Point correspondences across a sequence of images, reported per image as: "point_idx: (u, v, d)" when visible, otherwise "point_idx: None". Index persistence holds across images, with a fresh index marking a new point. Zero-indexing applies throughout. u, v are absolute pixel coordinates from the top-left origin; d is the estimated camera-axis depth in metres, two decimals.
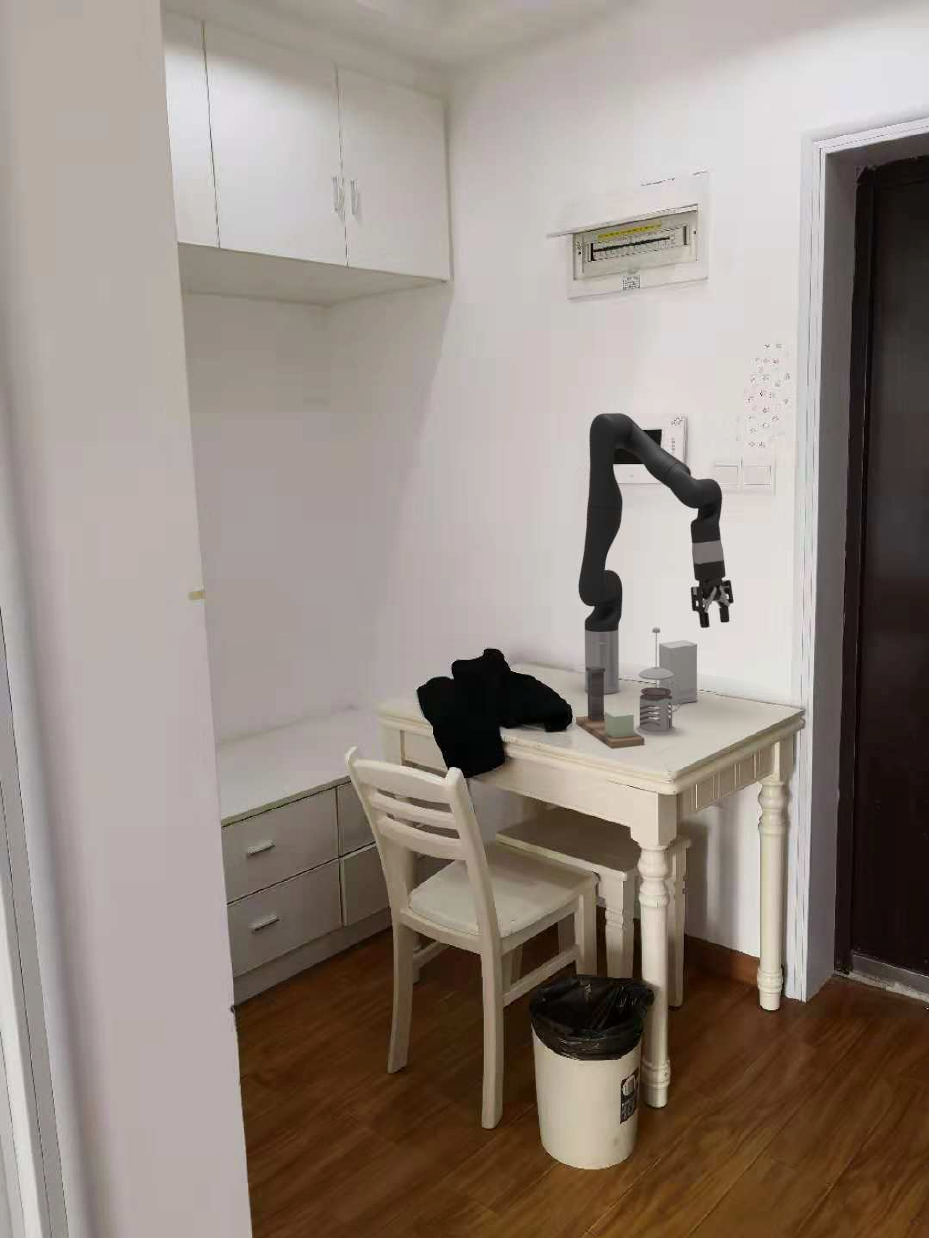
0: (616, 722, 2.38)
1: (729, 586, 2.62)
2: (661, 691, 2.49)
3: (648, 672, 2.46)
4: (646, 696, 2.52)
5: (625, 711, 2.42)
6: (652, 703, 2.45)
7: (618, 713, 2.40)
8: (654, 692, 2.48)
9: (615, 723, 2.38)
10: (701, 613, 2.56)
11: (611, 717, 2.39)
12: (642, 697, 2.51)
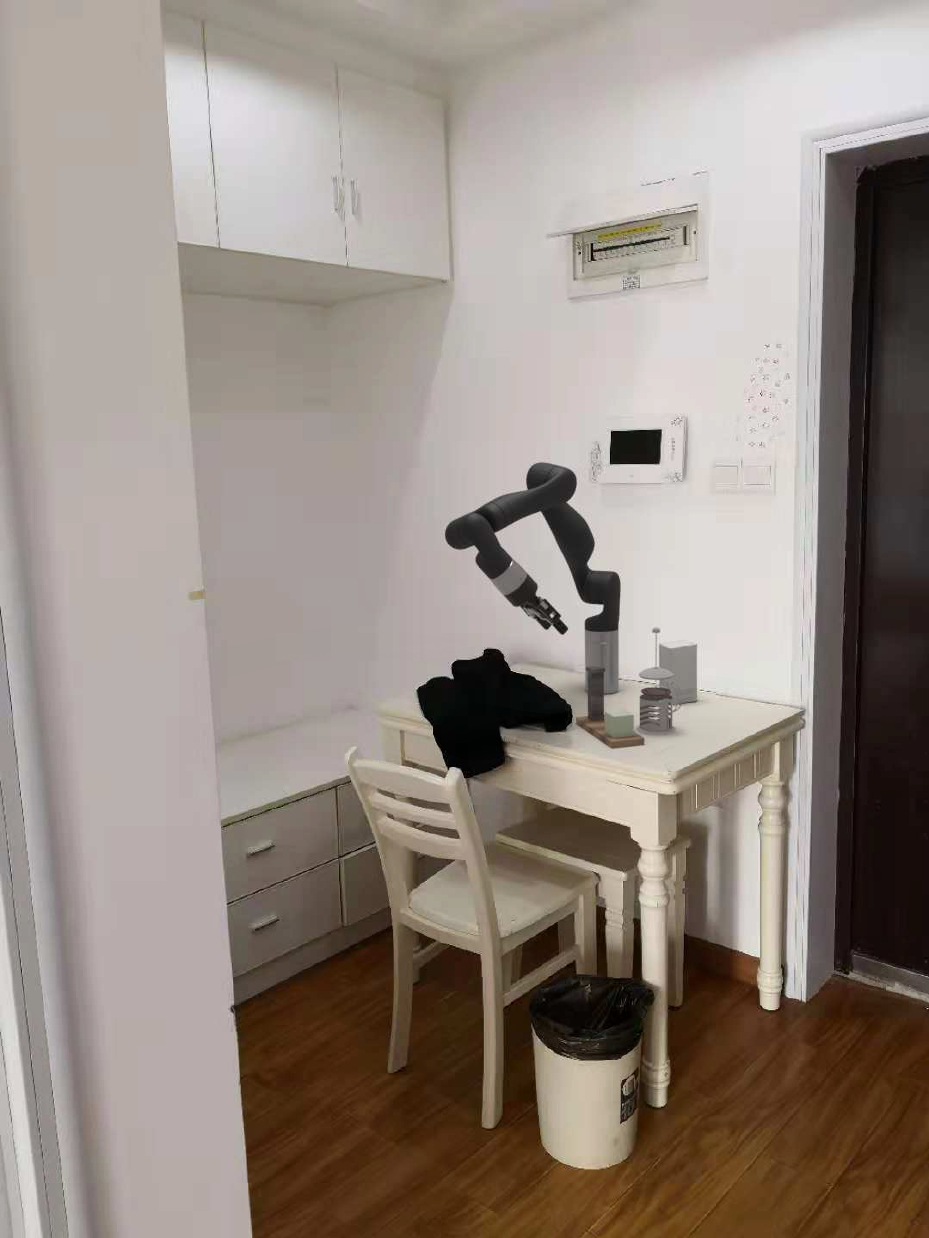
0: (616, 722, 2.38)
1: (541, 610, 2.37)
2: (661, 691, 2.49)
3: (648, 672, 2.46)
4: (646, 696, 2.52)
5: (625, 711, 2.42)
6: (652, 703, 2.45)
7: (618, 713, 2.40)
8: (654, 692, 2.48)
9: (615, 723, 2.38)
10: None
11: (611, 717, 2.39)
12: (642, 697, 2.51)
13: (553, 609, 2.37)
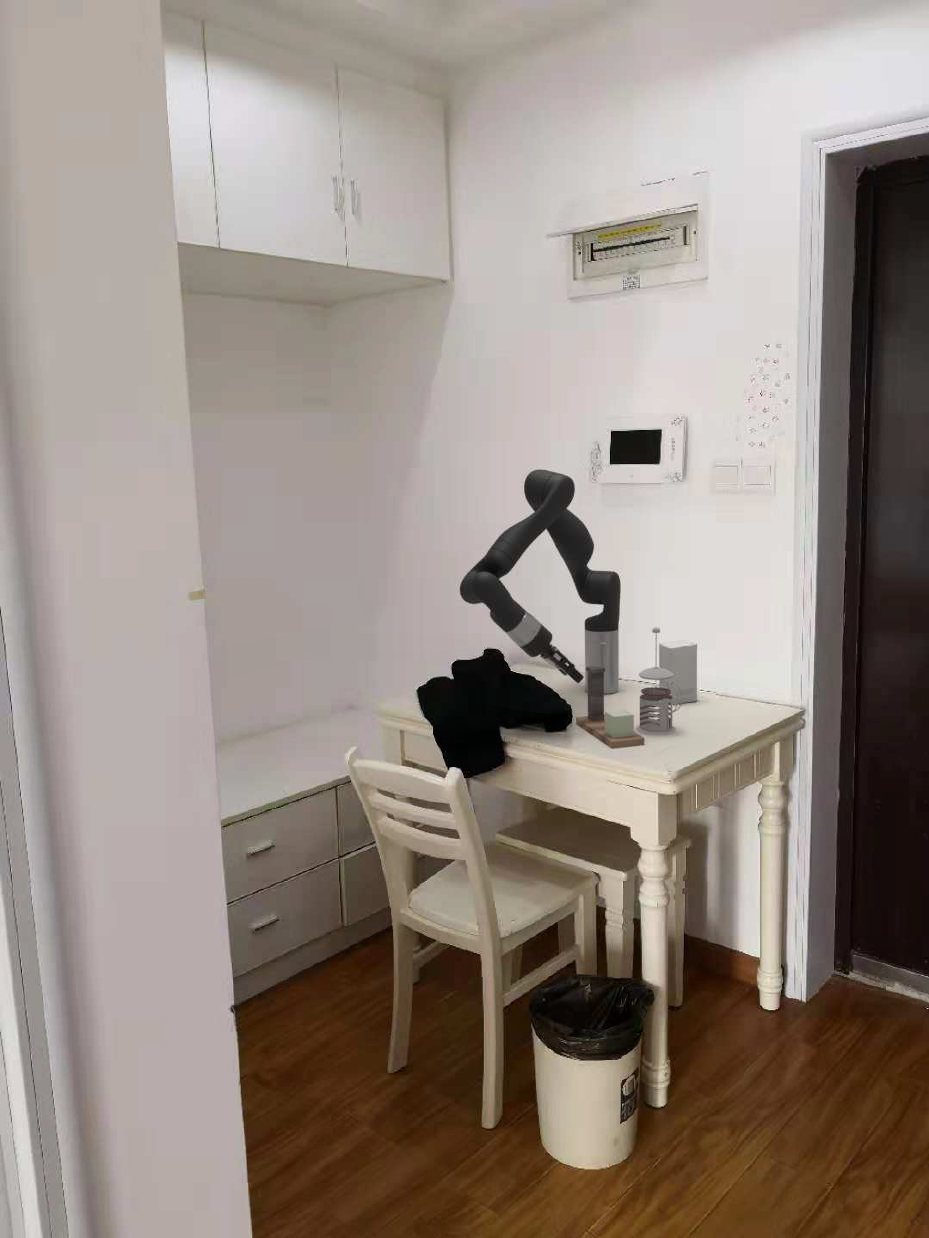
0: (616, 722, 2.38)
1: (554, 662, 2.43)
2: (661, 691, 2.49)
3: (648, 672, 2.46)
4: (646, 696, 2.52)
5: (625, 711, 2.42)
6: (652, 703, 2.45)
7: (618, 713, 2.40)
8: (654, 692, 2.48)
9: (615, 723, 2.38)
10: None
11: (611, 717, 2.39)
12: (642, 697, 2.51)
13: (566, 660, 2.43)
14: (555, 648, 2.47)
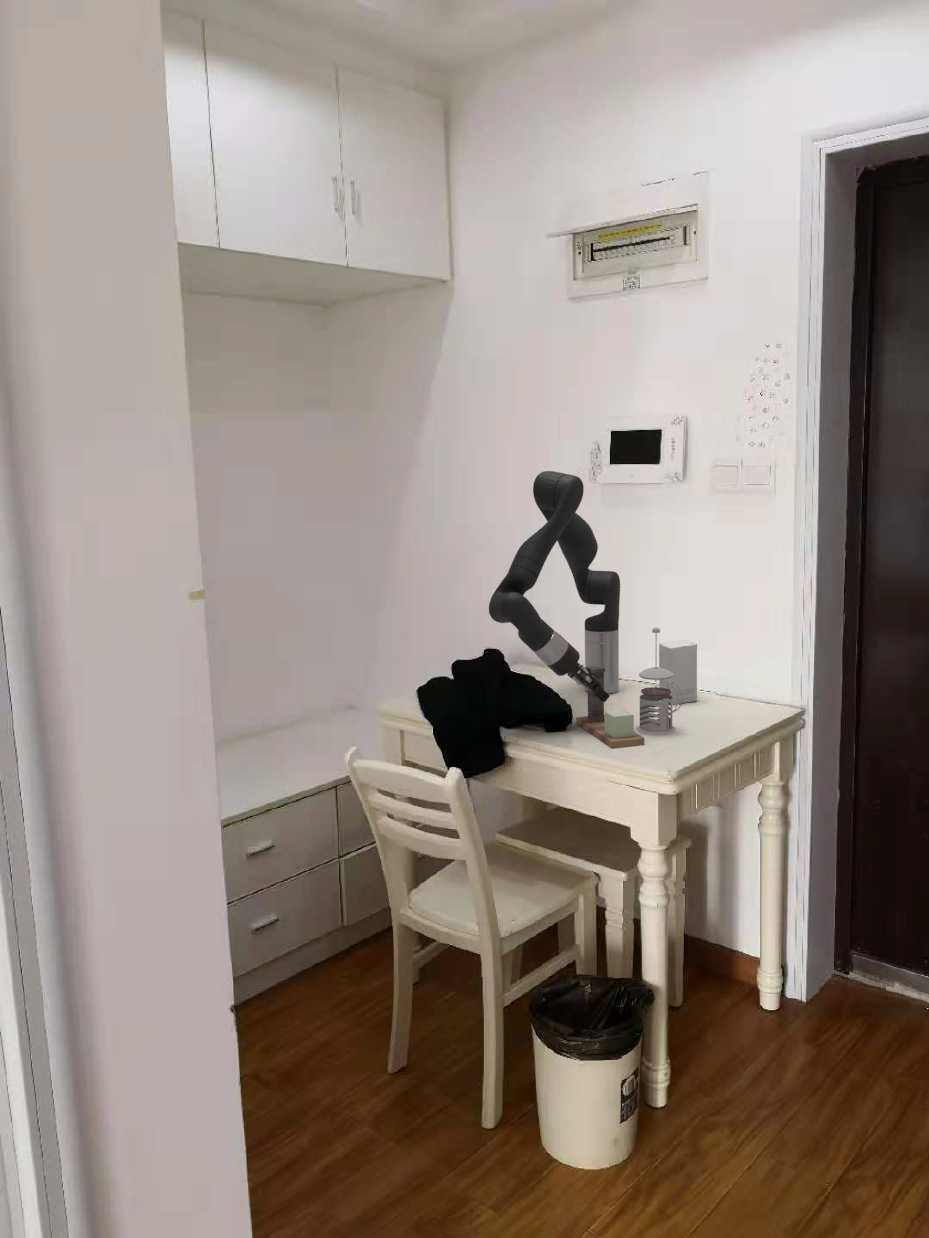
0: (616, 722, 2.38)
1: (585, 683, 2.47)
2: (661, 691, 2.49)
3: (648, 672, 2.46)
4: (646, 696, 2.52)
5: (625, 711, 2.42)
6: (652, 703, 2.45)
7: (618, 713, 2.40)
8: (654, 692, 2.48)
9: (615, 723, 2.38)
10: None
11: (611, 717, 2.39)
12: (642, 697, 2.51)
13: (596, 682, 2.47)
14: (583, 668, 2.50)
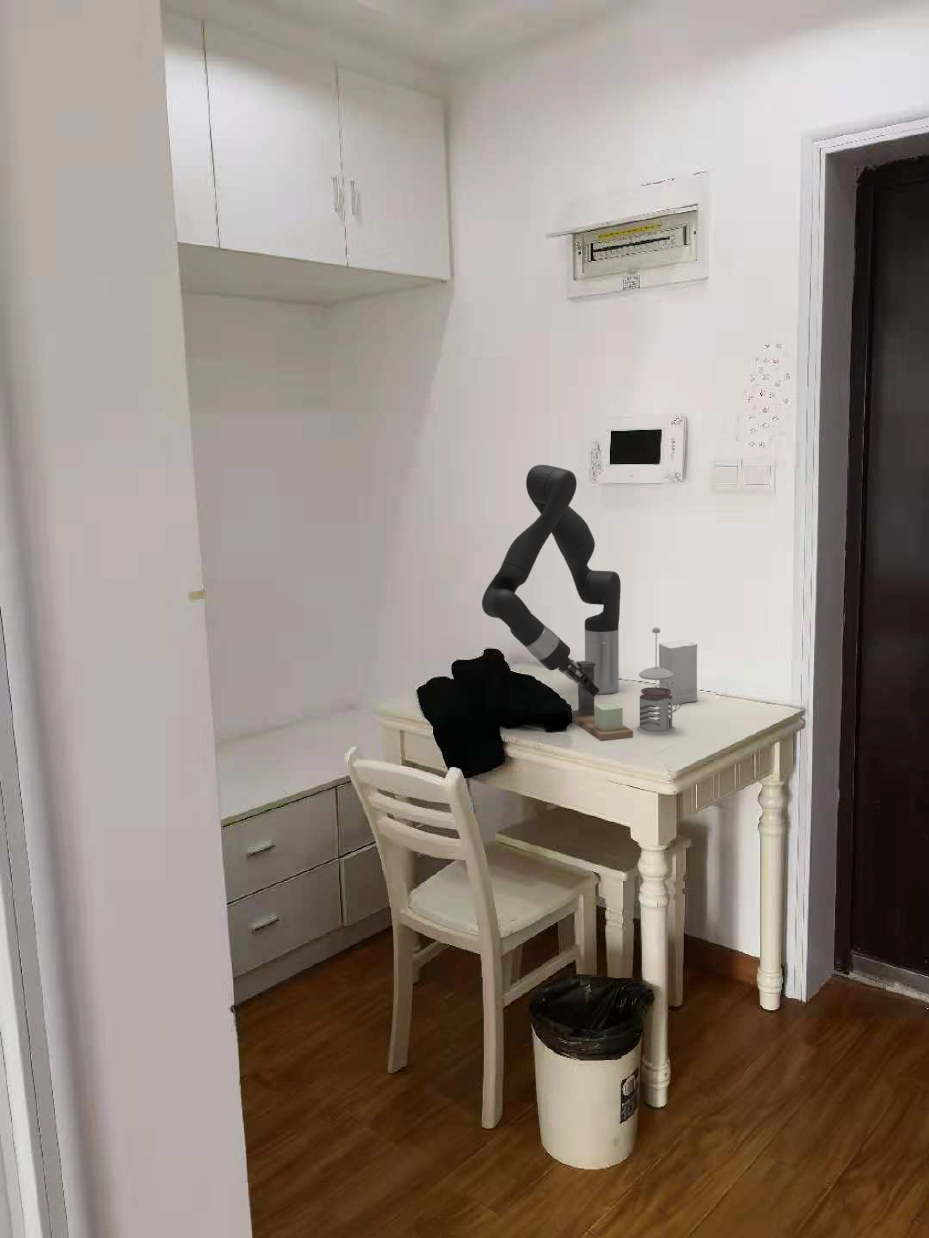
0: (605, 715, 2.44)
1: (575, 677, 2.53)
2: (661, 691, 2.49)
3: (648, 672, 2.46)
4: (646, 696, 2.52)
5: (614, 705, 2.48)
6: (652, 703, 2.45)
7: (607, 707, 2.46)
8: (654, 692, 2.48)
9: (604, 716, 2.44)
10: None
11: (600, 710, 2.45)
12: (642, 697, 2.51)
13: (586, 676, 2.53)
14: (574, 662, 2.56)
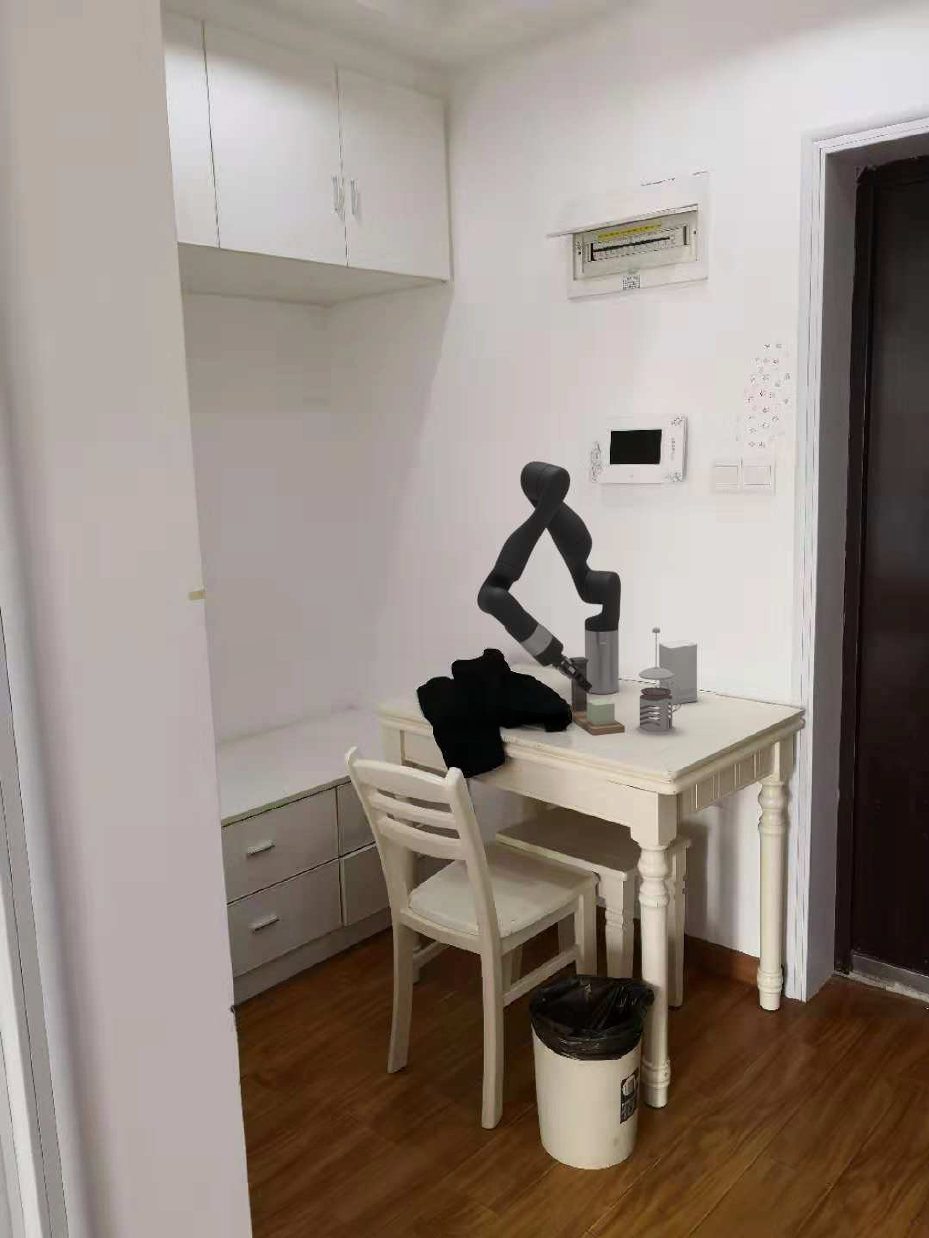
0: (597, 710, 2.49)
1: (568, 673, 2.57)
2: (661, 691, 2.49)
3: (648, 672, 2.46)
4: (646, 696, 2.52)
5: (607, 700, 2.52)
6: (652, 703, 2.45)
7: (600, 702, 2.51)
8: (654, 692, 2.48)
9: (596, 711, 2.49)
10: None
11: (592, 705, 2.50)
12: (642, 697, 2.51)
13: (579, 672, 2.58)
14: (567, 658, 2.60)
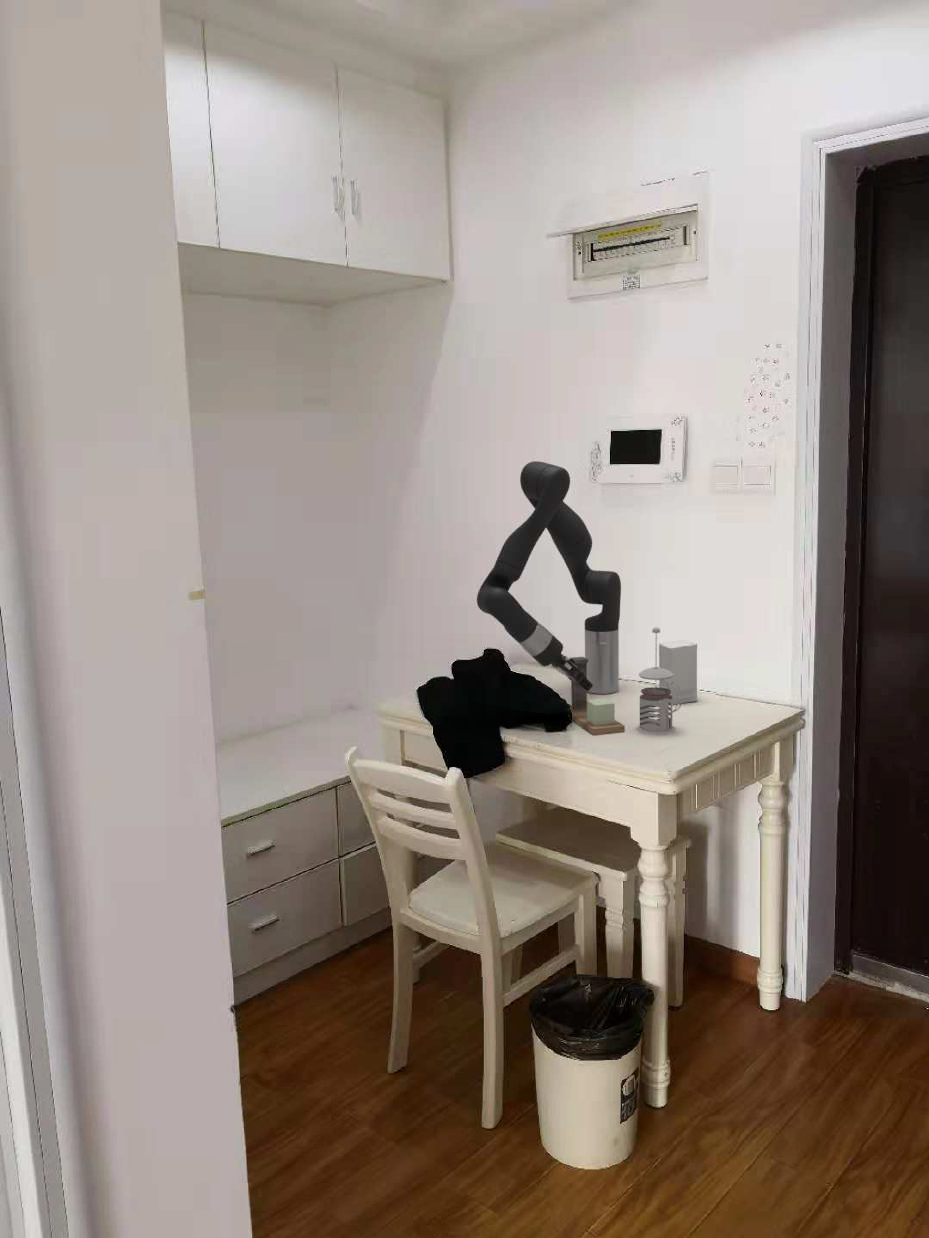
0: (597, 710, 2.49)
1: (565, 671, 2.56)
2: (661, 691, 2.49)
3: (648, 672, 2.46)
4: (646, 696, 2.52)
5: (607, 700, 2.52)
6: (652, 703, 2.45)
7: (600, 702, 2.51)
8: (654, 692, 2.48)
9: (596, 711, 2.49)
10: None
11: (592, 705, 2.50)
12: (642, 697, 2.51)
13: (577, 669, 2.56)
14: (566, 658, 2.60)
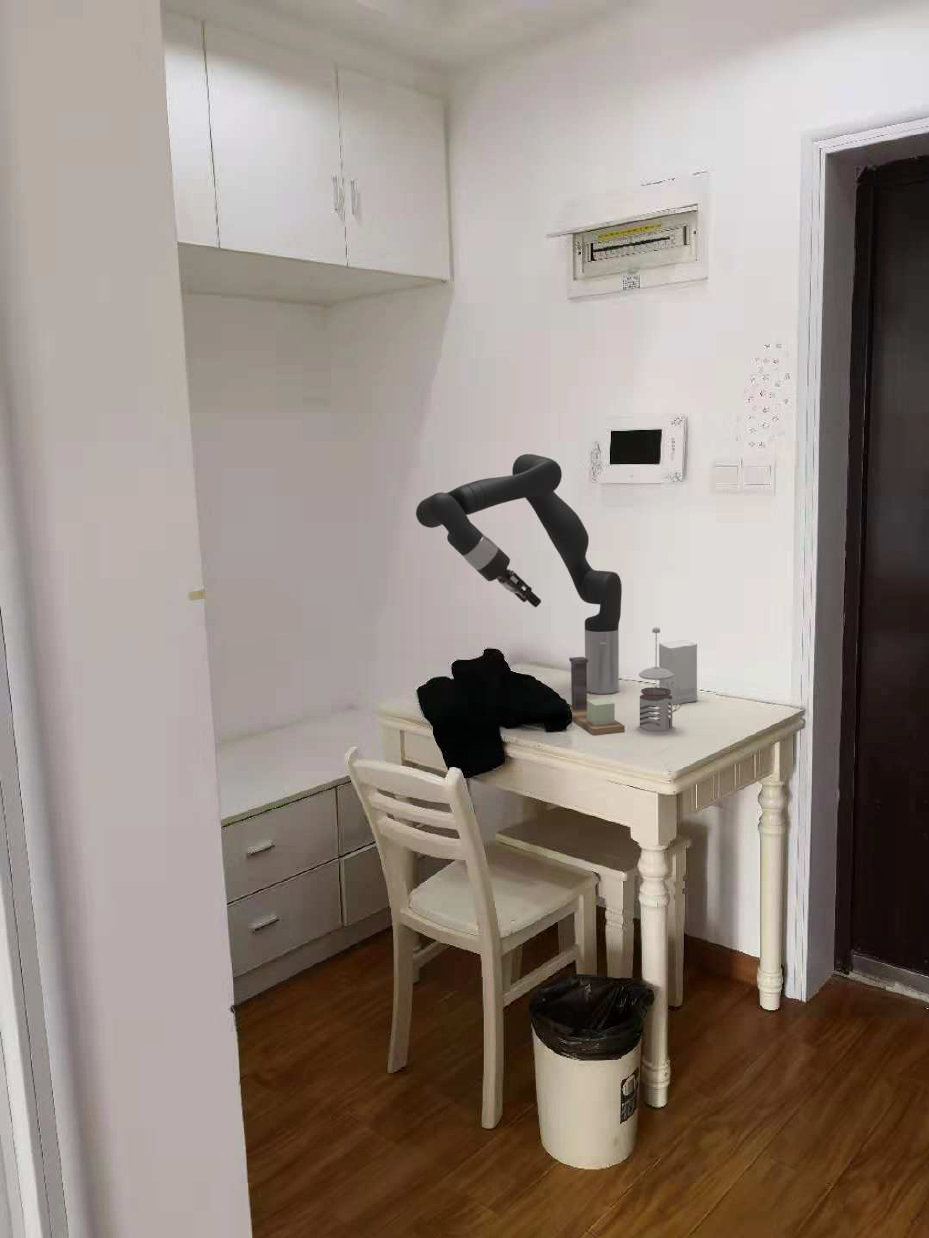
0: (597, 710, 2.49)
1: (511, 584, 2.44)
2: (661, 691, 2.49)
3: (648, 672, 2.46)
4: (646, 696, 2.52)
5: (607, 700, 2.52)
6: (652, 703, 2.45)
7: (600, 702, 2.51)
8: (654, 692, 2.48)
9: (596, 711, 2.49)
10: None
11: (592, 705, 2.50)
12: (642, 697, 2.51)
13: (523, 583, 2.43)
14: (513, 572, 2.48)
